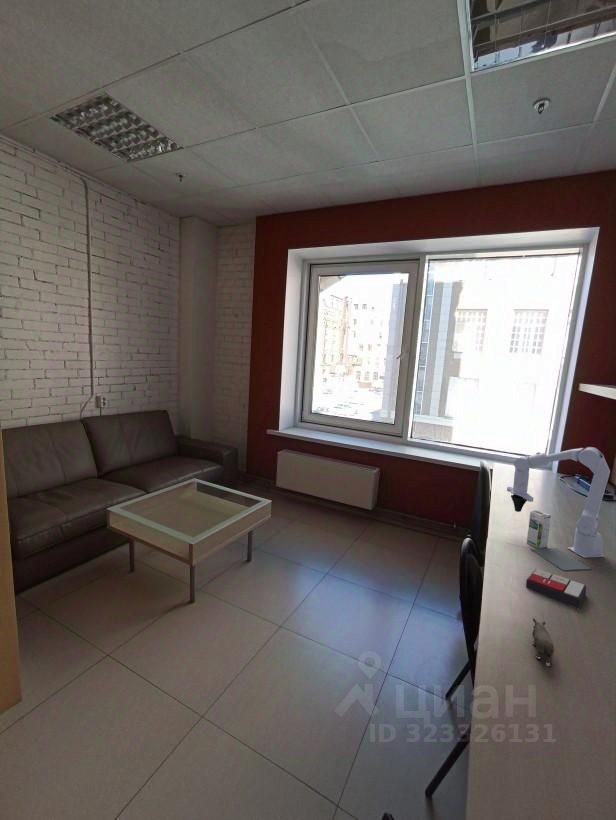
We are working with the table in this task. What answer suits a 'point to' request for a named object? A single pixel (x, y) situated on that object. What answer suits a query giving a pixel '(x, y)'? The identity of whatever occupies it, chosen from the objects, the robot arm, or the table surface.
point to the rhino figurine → (542, 640)
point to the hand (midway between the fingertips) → (517, 511)
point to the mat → (561, 559)
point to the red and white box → (557, 587)
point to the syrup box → (538, 529)
